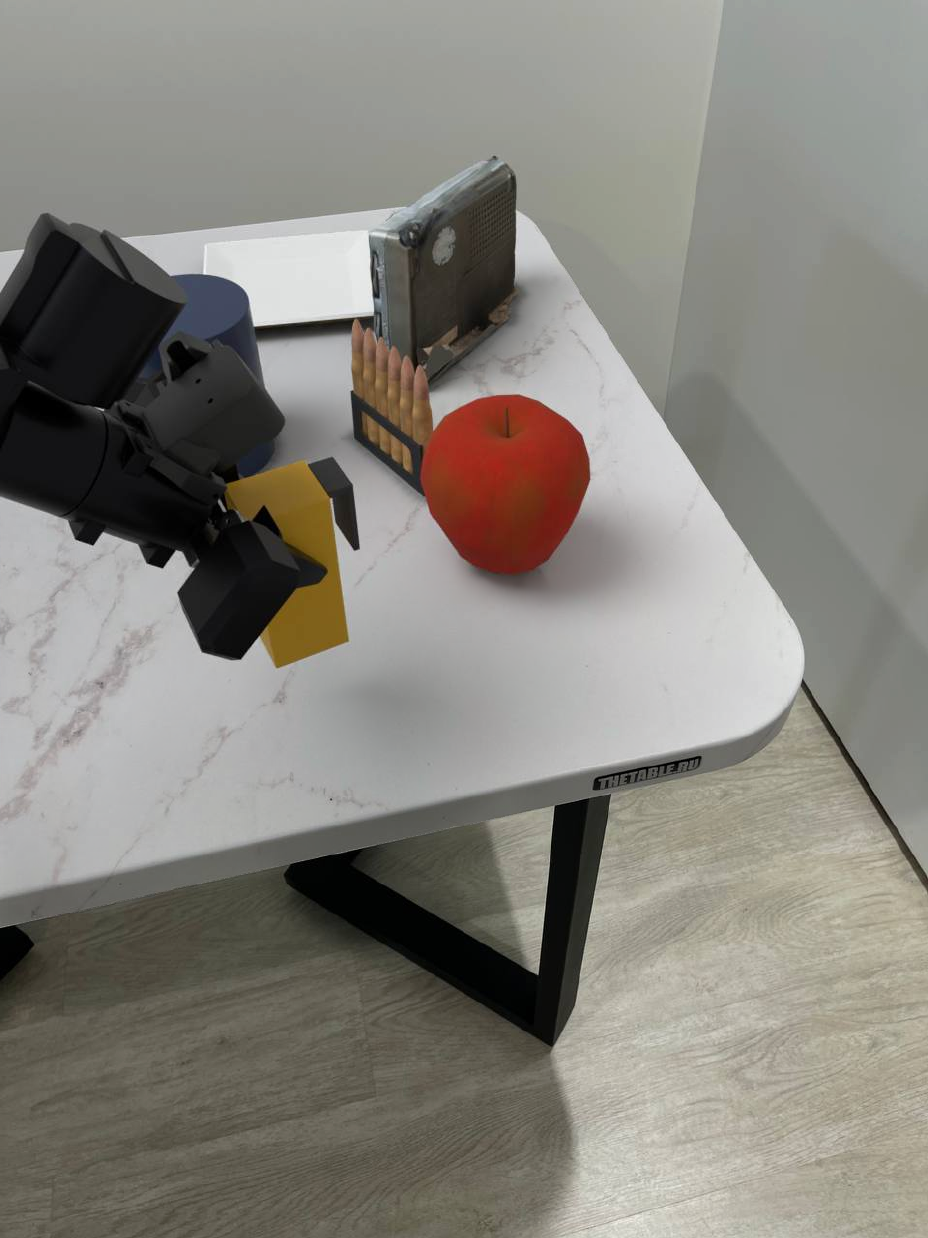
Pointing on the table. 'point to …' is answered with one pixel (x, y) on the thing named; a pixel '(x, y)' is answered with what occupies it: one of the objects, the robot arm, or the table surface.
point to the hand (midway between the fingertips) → (309, 554)
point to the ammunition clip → (390, 406)
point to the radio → (446, 267)
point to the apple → (505, 481)
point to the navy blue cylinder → (213, 316)
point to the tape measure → (304, 550)
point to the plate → (298, 276)
